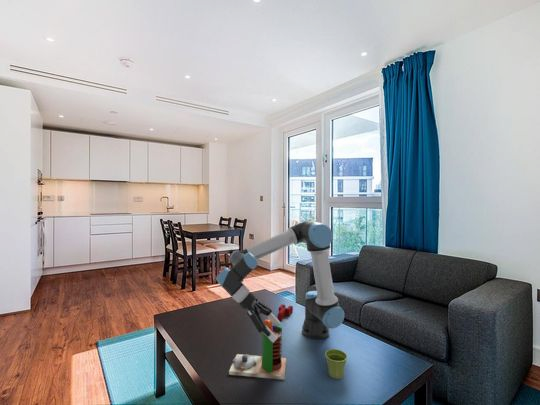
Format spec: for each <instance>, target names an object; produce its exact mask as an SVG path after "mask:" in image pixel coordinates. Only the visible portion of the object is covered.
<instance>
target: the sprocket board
mask: <svg viewBox="0 0 540 405" xmlns="http://www.w3.org/2000/svg"><path fill="white" fill-rule="evenodd" d="M281 359H282V367H281V368H280V369H279V370H276V371H273V372H272V373H271V372H267V371H265V370H264V369H263V368H262V355H252V354H250V355H249V353H245V354H240V353H237V354H236V355H235V357H234V358H233V359H232V363H231V366H230V368H229V370H228V376H229V375H230V376H240V377H241V376H242V377H243V376H244V377H252V378H253V377H254V378H263V379H274V380H285V377H286V376H285V375H286V367H287V358H286V357H281Z"/></svg>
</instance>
